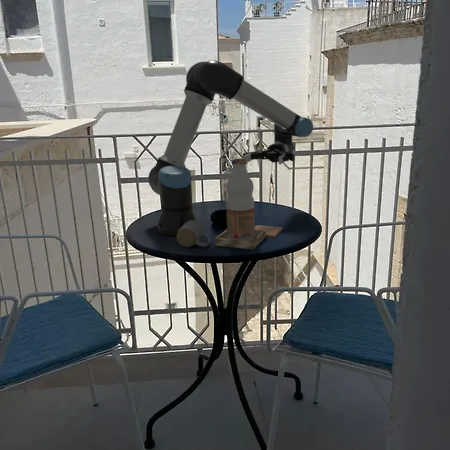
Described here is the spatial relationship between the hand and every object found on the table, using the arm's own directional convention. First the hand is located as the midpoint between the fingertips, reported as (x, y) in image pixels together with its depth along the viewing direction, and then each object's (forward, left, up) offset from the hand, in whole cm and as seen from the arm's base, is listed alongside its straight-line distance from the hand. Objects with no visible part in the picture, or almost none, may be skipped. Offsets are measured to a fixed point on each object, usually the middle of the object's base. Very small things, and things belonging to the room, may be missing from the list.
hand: (261, 160), depth 168 cm
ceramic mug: (-15, -28, -25) cm, 41 cm away
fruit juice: (-1, -20, -25) cm, 32 cm away
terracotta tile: (+4, -8, -25) cm, 27 cm away
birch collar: (-1, -20, -25) cm, 32 cm away
